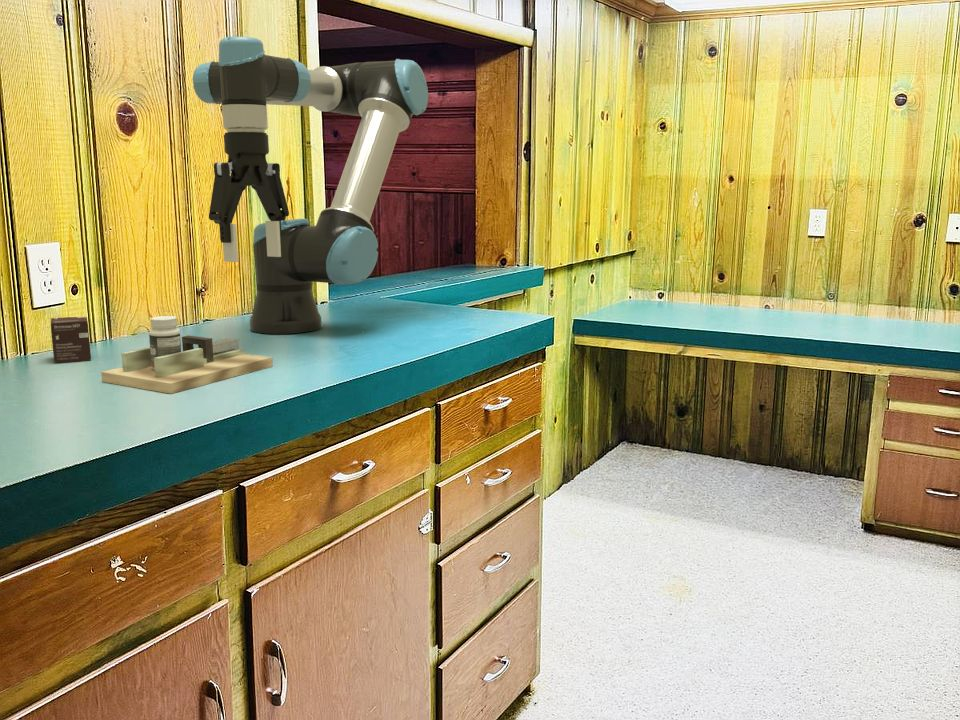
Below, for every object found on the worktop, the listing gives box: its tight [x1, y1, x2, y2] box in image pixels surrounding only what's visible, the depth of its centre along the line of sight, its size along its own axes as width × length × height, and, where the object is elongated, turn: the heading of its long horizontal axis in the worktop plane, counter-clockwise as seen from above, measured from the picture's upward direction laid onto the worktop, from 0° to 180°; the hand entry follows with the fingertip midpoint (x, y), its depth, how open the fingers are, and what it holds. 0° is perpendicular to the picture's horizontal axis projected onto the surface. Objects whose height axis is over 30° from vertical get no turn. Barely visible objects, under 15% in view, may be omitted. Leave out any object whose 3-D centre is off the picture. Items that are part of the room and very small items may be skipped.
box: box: [50, 316, 92, 364], centre depth 154 cm, size 6×6×7 cm
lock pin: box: [197, 337, 240, 355], centre depth 149 cm, size 7×2×2 cm, turn 150°
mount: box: [100, 335, 274, 395], centre depth 142 cm, size 22×16×6 cm
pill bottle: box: [148, 315, 182, 370], centre depth 139 cm, size 5×5×8 cm
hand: (253, 259), depth 154 cm, fingers open, 10 cm apart
